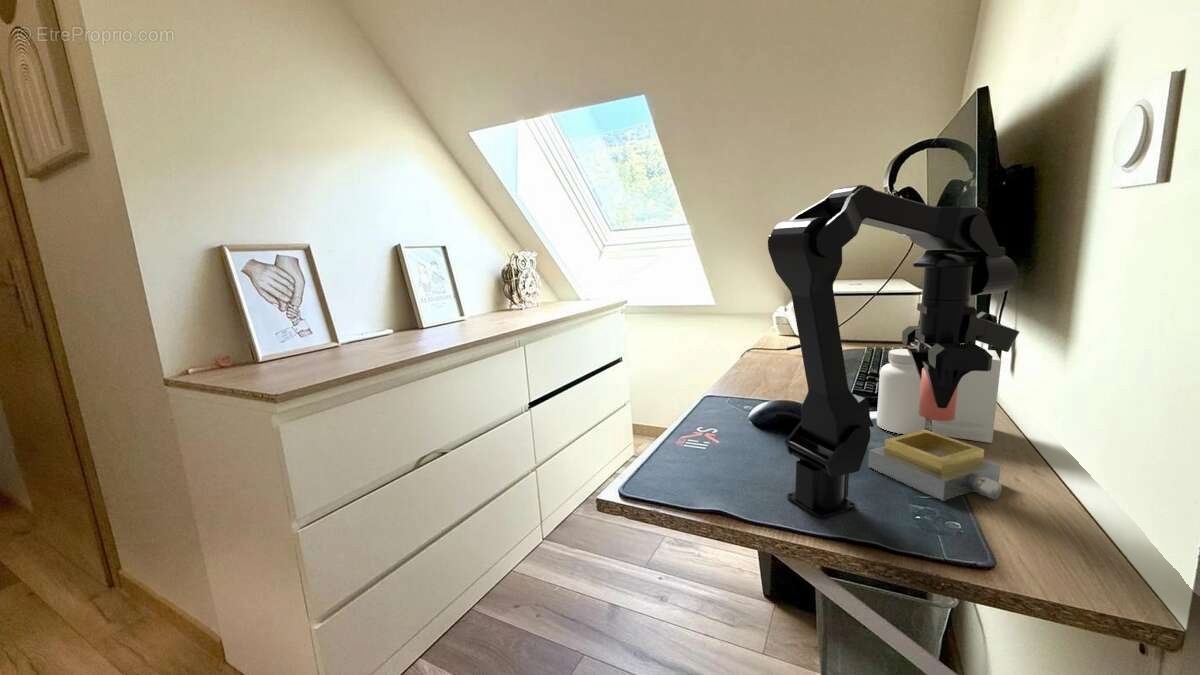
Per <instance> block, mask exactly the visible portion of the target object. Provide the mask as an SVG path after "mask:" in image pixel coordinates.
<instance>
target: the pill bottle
mask: <svg viewBox="0 0 1200 675" xmlns="http://www.w3.org/2000/svg"><path fill="white" fill-rule="evenodd" d="M908 349H909V348H907V349H905V348H896V349H895V348H894V349H890V350H889V351H888V356H887V357H888V363H886V364H884V365H883V366H882V367H881V368H880V371H879V378H878V379H879V381H878V396H877V398H878V399H877V408H876V410H877V411H876V412H877V413H876V424H877V427H878V426H879V427H880V428H882V429H884V430H887V431H891V432H896V433H902V434H909V433H913V432H916V431H920V430H924V429H925V428H926V424H927V423H926V421H927V418H924V417H922V416H920V415H919V403H920V390H921V380H920V377H919V375H918V372H917V370H916V368H915V365H914V363H913V361H912V358H911V356H910V354H909V352H908ZM879 427H878V428H879ZM880 428H879V429H880ZM882 429H881V430H882ZM884 430H883V431H884ZM925 430H926V429H925ZM887 431H886V432H887Z"/></svg>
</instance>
